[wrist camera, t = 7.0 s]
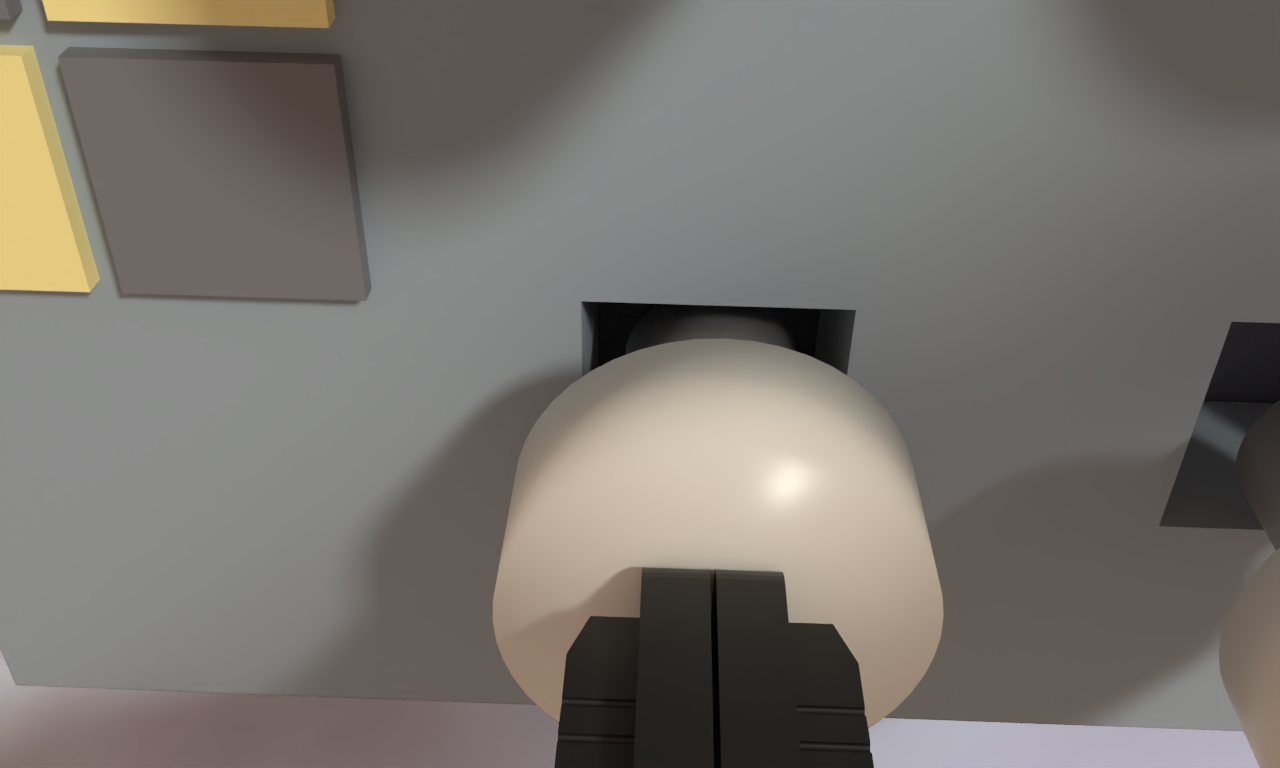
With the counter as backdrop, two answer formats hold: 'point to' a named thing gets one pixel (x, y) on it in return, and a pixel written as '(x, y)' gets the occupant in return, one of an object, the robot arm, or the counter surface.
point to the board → (624, 273)
